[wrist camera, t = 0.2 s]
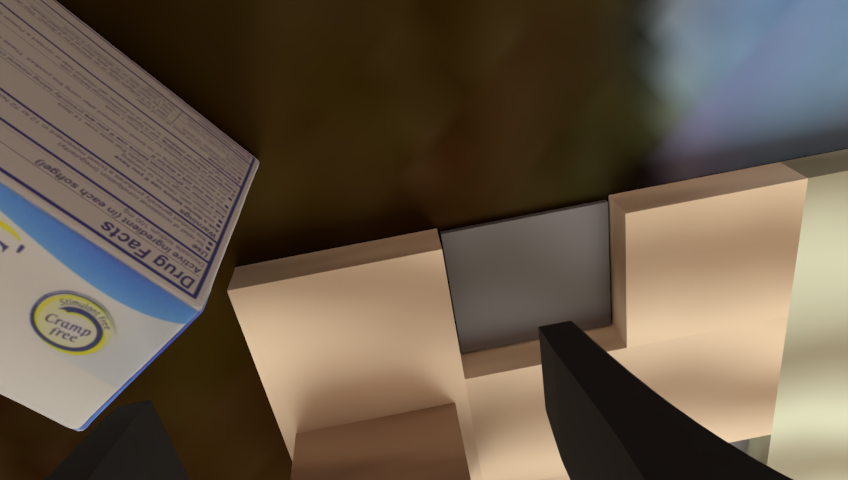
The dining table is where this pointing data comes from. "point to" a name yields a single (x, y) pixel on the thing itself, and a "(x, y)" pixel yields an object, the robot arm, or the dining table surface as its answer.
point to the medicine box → (99, 213)
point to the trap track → (581, 318)
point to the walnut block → (385, 448)
